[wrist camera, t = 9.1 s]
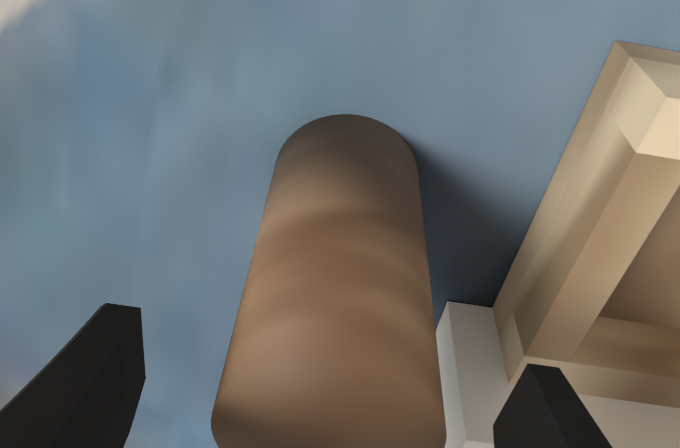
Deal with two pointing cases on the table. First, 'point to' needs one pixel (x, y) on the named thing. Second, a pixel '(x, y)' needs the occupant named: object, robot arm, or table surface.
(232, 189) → the table surface
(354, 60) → the table surface
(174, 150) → the table surface
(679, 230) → the socket block
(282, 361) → the dowel
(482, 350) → the wall
